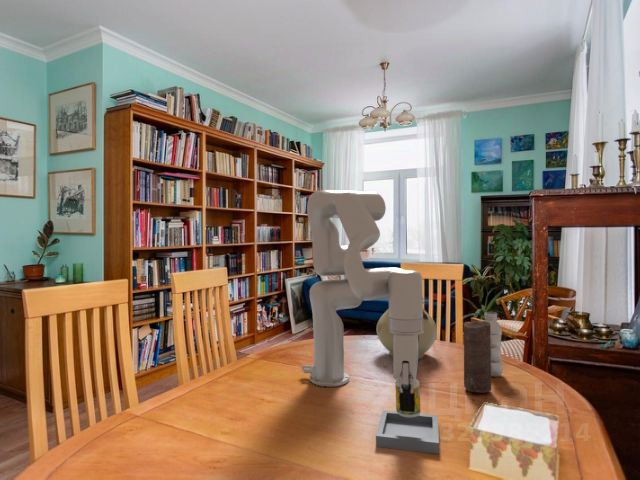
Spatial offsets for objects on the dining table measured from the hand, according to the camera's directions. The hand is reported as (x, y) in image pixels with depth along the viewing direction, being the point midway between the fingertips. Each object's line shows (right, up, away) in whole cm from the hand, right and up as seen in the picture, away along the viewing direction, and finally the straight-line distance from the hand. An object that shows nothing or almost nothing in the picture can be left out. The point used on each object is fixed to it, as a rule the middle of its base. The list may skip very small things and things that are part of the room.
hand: (408, 404), depth 89 cm
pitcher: (+14, -7, +60) cm, 62 cm away
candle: (+25, -7, +24) cm, 36 cm away
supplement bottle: (0, -2, 0) cm, 2 cm away
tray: (0, -7, 0) cm, 7 cm away
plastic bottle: (+35, -6, +37) cm, 52 cm away
